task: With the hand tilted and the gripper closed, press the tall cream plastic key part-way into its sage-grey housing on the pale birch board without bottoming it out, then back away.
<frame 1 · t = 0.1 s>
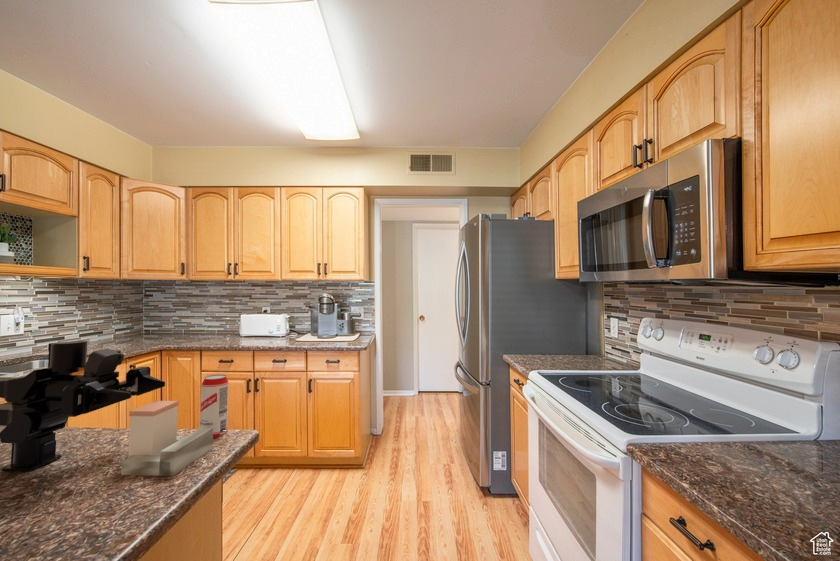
hand: (148, 389, 76), 17 cm above the countertop, tool horizontal, fingers open, 9 cm apart
beer can: (213, 438, 90), on the countertop
push key: (154, 432, 75), point 7 cm above the countertop, slide at 0.0 cm
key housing: (152, 466, 75), on the countertop
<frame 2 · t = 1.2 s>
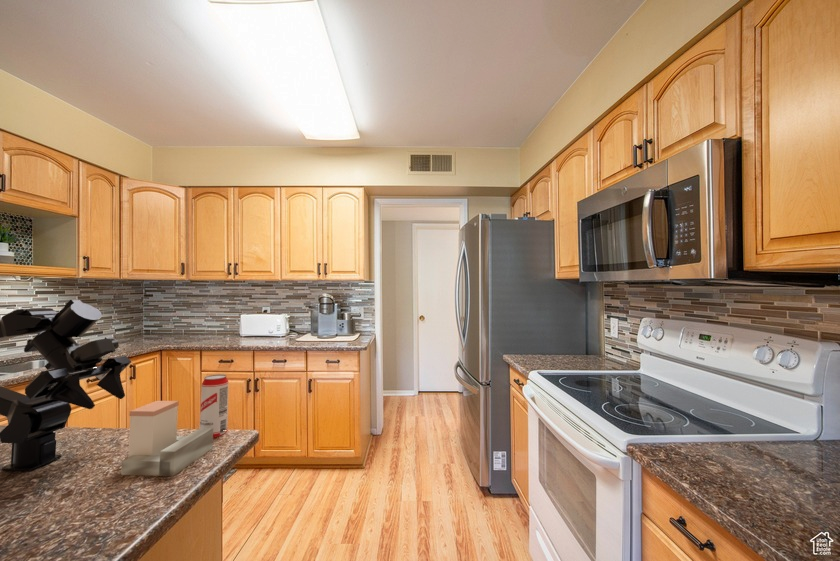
hand: (108, 402, 76), 14 cm above the countertop, tool tilted 45°, fingers open, 7 cm apart
nothing on the countertop moved.
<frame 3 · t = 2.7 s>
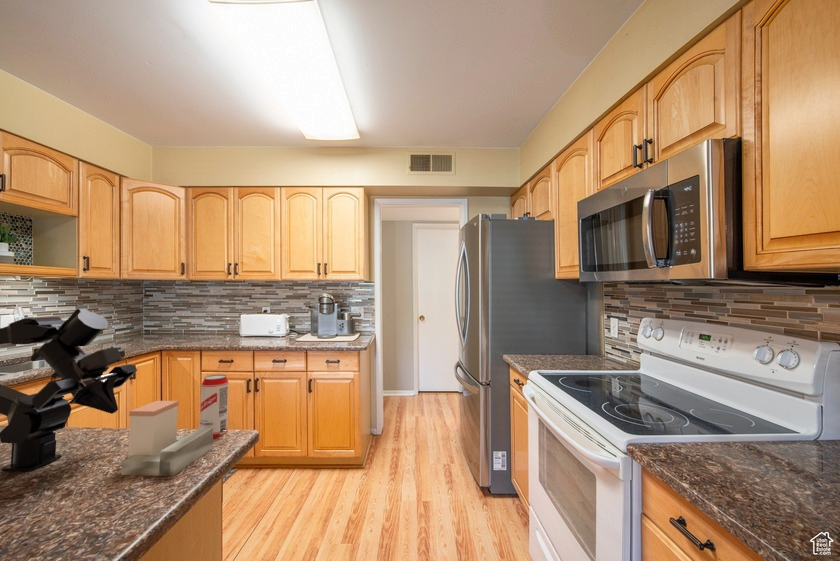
hand: (115, 411, 76), 12 cm above the countertop, tool tilted 45°, fingers closed
nothing on the countertop moved.
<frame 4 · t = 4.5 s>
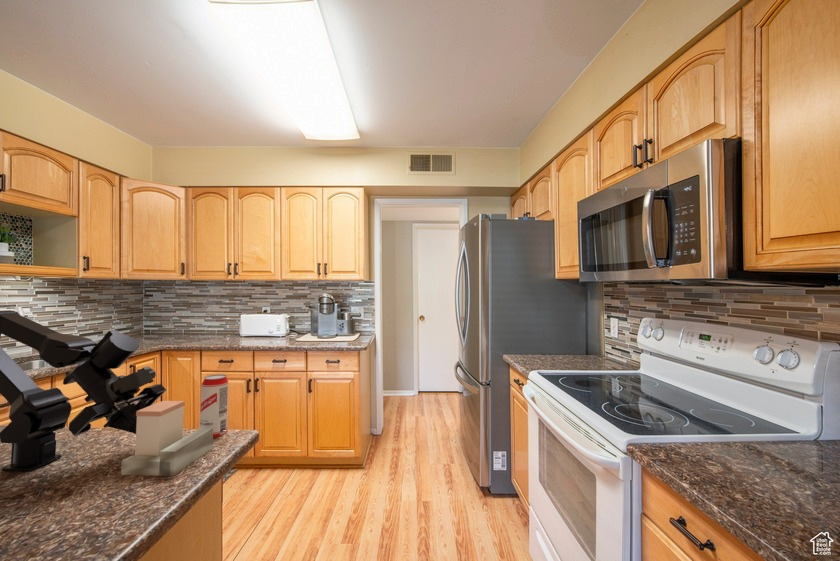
hand: (148, 434, 75), 7 cm above the countertop, tool tilted 45°, fingers closed, pressing on push key
push key: (160, 432, 75), point 7 cm above the countertop, slide at 1.4 cm, touching gripper
everything else where it was.
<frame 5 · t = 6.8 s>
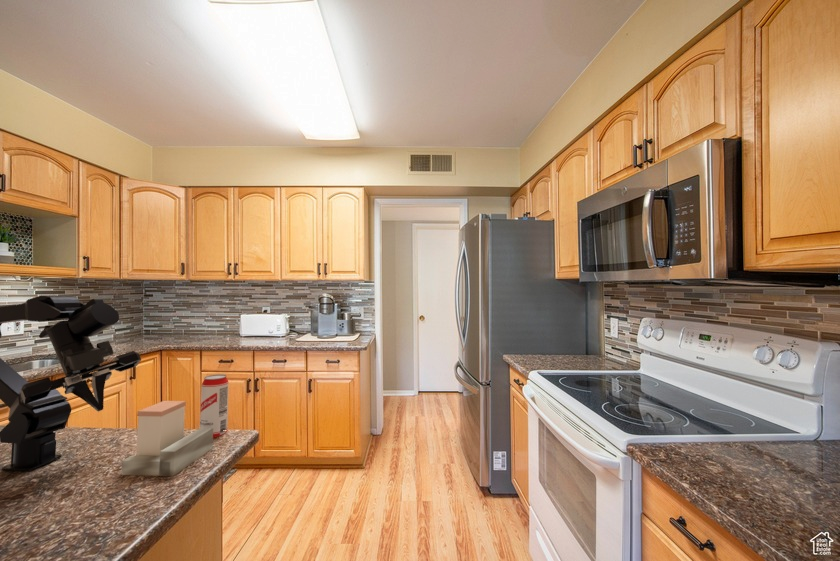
hand: (100, 410, 75), 12 cm above the countertop, tool tilted 30°, fingers closed
push key: (161, 432, 75), point 7 cm above the countertop, slide at 1.7 cm
everything else where it was.
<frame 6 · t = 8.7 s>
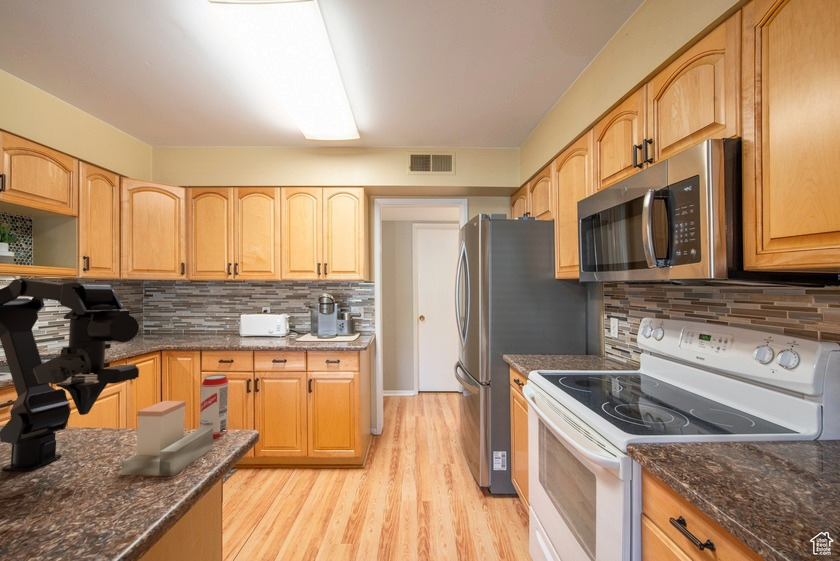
hand: (84, 414, 73), 12 cm above the countertop, tool pointing down, fingers closed
nothing on the countertop moved.
at the end: push key slide at 1.7 cm; beer can moved 0.2 cm from its start; beer can tilted 0° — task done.
